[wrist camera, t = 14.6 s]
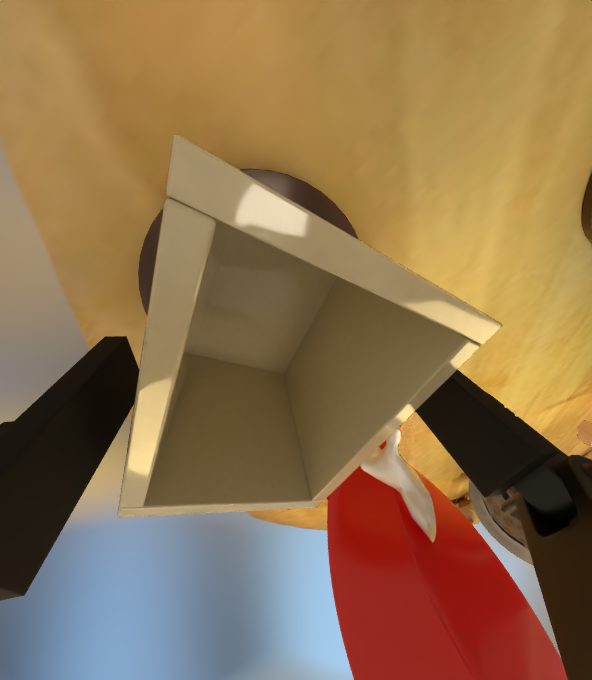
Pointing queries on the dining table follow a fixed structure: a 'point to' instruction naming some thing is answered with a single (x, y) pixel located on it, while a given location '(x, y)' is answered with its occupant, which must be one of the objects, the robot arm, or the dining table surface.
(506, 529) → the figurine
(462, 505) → the toy
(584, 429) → the human figure
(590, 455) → the whitish tan flat slab
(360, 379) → the cream bin
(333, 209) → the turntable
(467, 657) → the vase
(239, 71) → the dining table surface
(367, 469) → the plaster hands
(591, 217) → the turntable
